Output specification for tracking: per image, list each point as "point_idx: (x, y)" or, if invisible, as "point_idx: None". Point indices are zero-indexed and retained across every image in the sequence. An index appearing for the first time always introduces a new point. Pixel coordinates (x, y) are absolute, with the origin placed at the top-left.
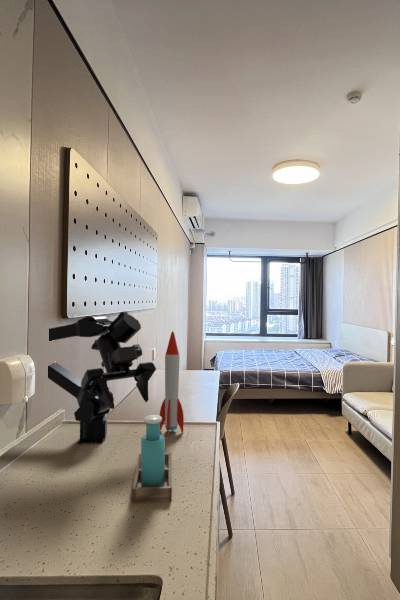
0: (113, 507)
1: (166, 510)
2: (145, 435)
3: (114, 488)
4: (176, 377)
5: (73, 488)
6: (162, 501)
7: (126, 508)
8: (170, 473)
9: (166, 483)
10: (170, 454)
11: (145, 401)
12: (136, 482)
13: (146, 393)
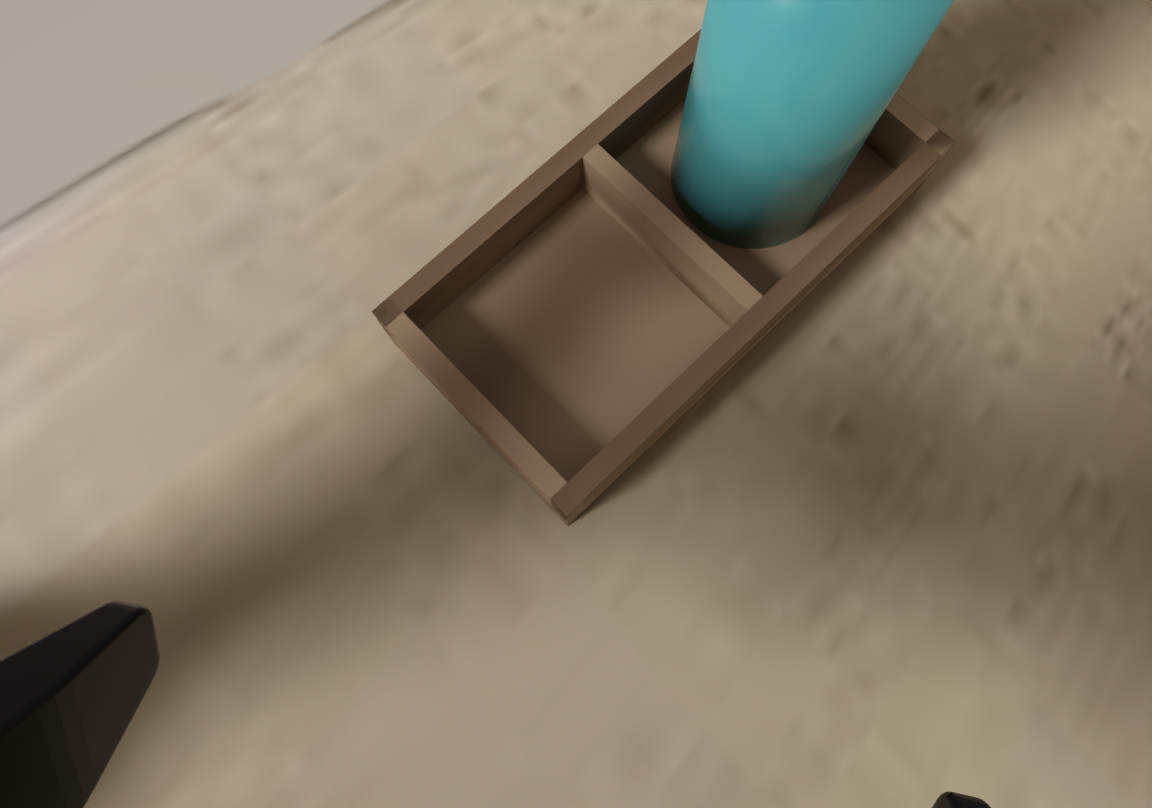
0: (1026, 235)
1: None
2: (874, 3)
3: (908, 396)
4: None
5: (1129, 624)
6: None
7: (974, 174)
8: (632, 96)
9: (659, 138)
10: (399, 295)
11: (150, 674)
12: (883, 184)
13: (3, 696)
